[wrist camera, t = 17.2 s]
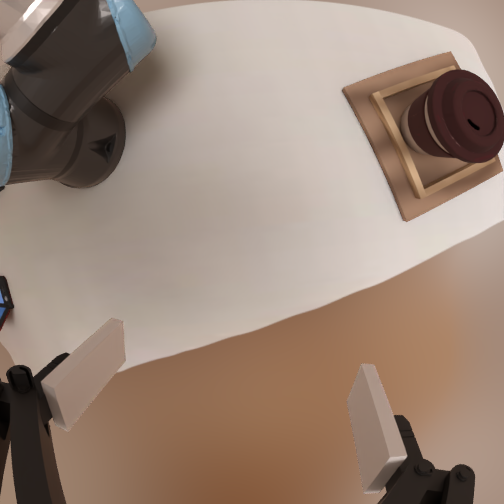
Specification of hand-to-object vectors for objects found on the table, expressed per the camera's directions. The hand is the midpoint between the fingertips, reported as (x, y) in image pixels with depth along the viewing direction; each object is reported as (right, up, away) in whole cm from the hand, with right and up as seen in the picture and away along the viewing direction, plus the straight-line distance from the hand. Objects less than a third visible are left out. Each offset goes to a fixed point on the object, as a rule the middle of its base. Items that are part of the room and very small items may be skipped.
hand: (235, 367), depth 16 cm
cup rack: (+26, +24, +21) cm, 41 cm away
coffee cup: (+24, +23, +20) cm, 39 cm away
